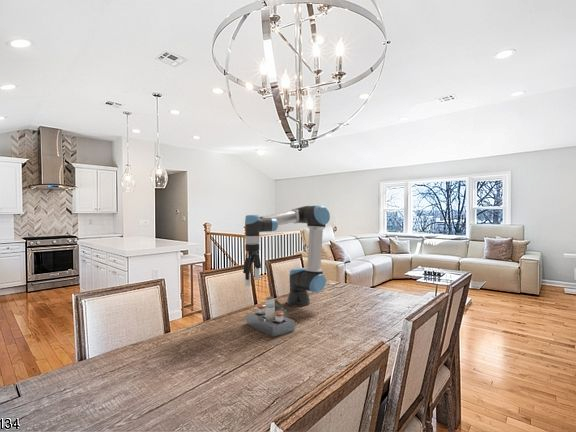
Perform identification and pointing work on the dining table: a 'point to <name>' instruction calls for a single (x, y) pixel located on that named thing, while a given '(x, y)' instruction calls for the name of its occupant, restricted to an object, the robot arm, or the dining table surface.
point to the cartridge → (269, 308)
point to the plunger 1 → (261, 309)
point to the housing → (270, 325)
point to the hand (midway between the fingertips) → (252, 282)
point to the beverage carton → (279, 307)
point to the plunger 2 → (278, 317)
